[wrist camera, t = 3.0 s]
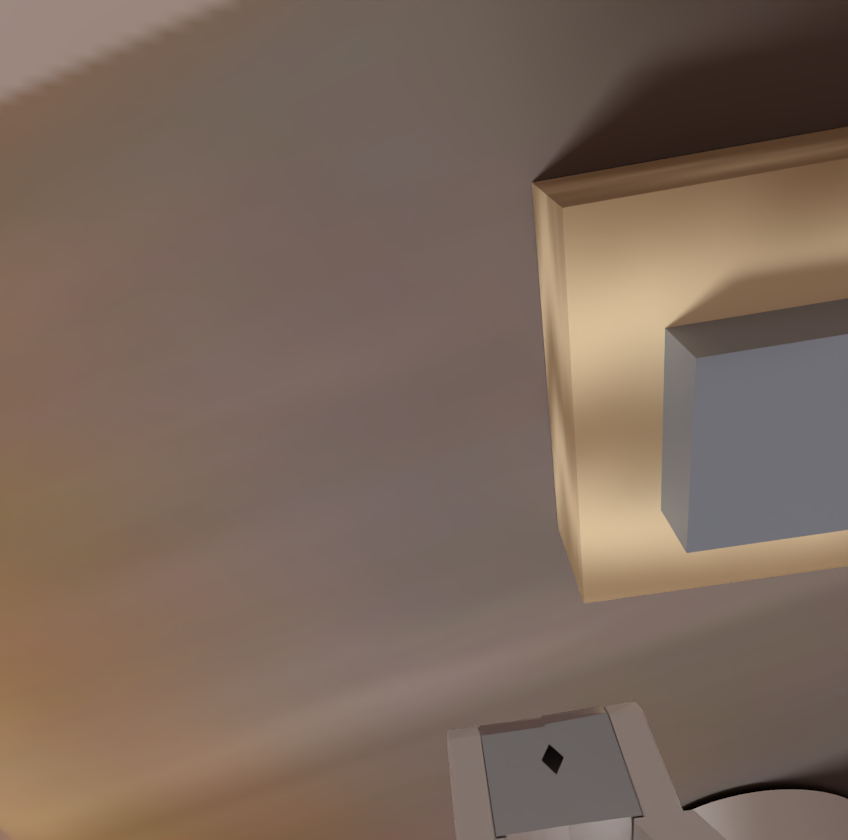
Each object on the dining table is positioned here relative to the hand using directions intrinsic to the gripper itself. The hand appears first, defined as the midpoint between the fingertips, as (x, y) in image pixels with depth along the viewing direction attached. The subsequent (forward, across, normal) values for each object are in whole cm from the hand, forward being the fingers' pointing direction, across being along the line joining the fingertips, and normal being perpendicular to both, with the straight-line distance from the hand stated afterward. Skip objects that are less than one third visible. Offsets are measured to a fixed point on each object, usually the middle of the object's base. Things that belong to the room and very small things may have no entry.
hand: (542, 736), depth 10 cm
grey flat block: (+9, -10, +1) cm, 13 cm away
